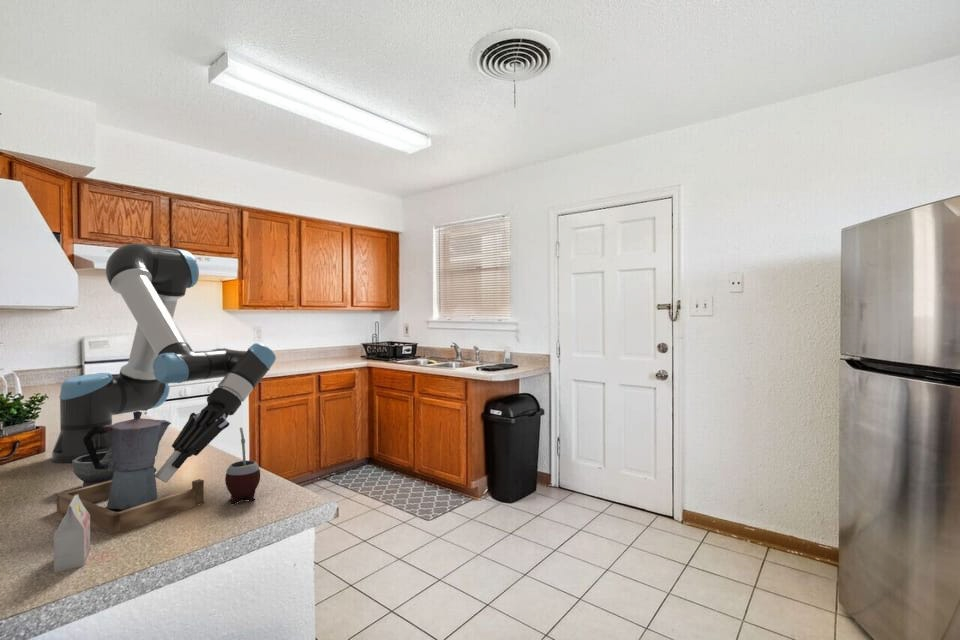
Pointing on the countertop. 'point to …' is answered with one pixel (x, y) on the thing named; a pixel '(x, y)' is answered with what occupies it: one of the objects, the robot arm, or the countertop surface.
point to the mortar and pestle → (93, 469)
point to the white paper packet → (72, 537)
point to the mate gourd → (242, 477)
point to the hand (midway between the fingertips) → (160, 479)
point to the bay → (131, 516)
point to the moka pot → (130, 459)
